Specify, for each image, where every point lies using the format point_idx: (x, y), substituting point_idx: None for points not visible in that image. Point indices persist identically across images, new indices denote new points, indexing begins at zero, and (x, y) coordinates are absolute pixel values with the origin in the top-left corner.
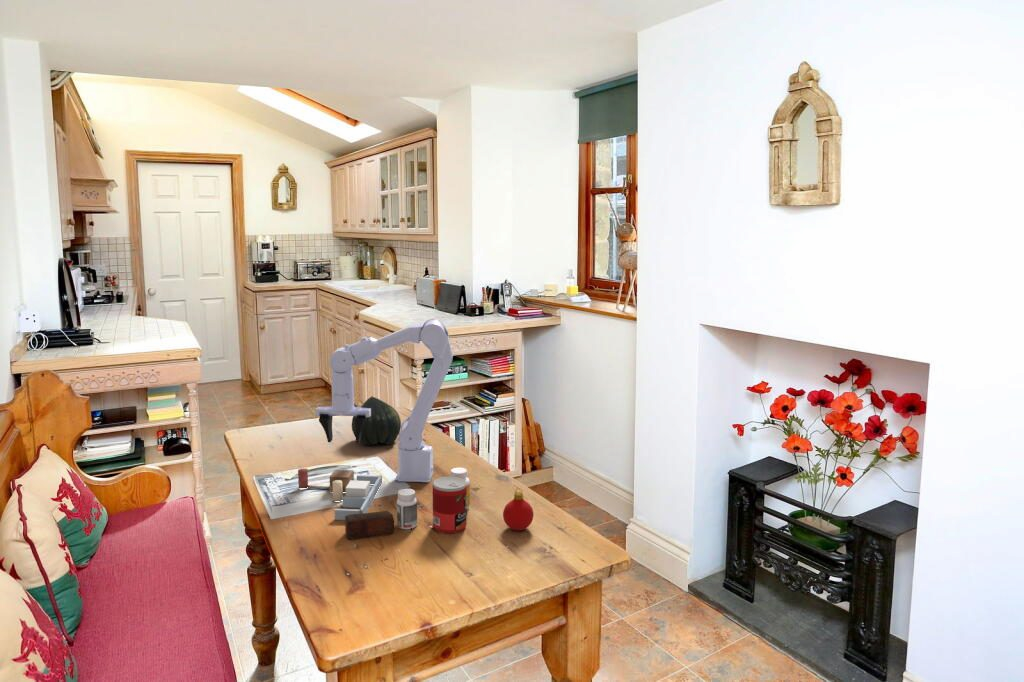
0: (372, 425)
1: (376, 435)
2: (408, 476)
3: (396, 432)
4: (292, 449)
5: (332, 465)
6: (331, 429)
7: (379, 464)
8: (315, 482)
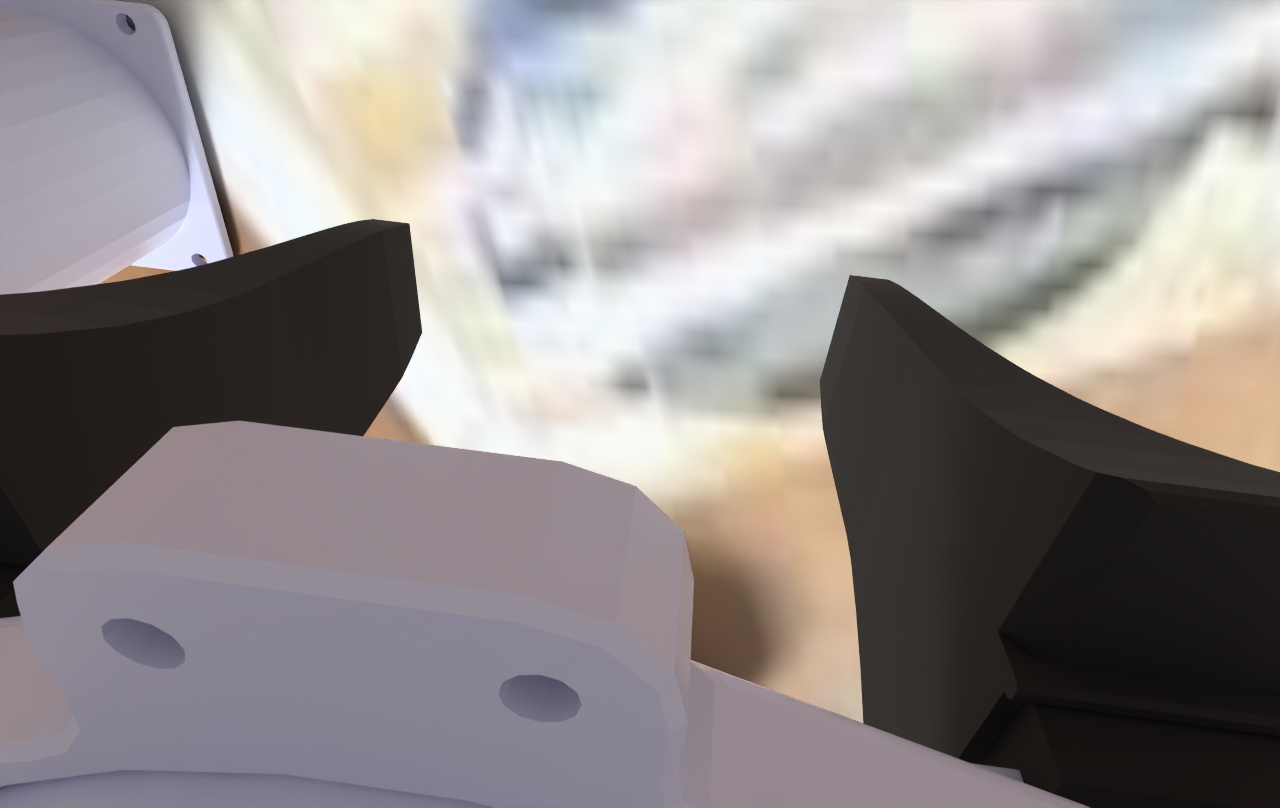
0: None
1: None
2: (2, 15)
3: None
4: None
5: (806, 411)
6: (855, 500)
7: (450, 406)
8: (960, 9)
